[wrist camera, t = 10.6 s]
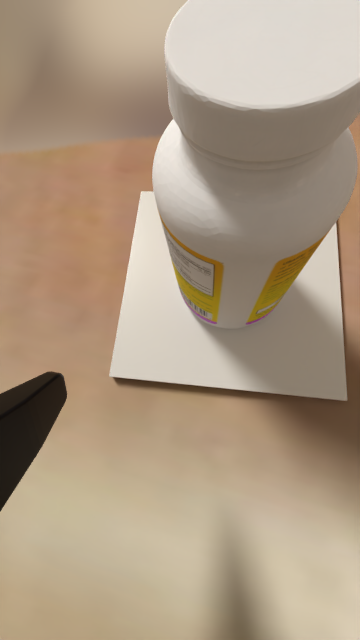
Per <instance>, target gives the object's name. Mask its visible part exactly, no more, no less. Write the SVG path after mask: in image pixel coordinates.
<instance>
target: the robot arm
mask: <svg viewBox="0 0 360 640" xmlns="http://www.w3.org/2000/svg"><path fill="white" fill-rule="evenodd" d="M66 398H67V391H66V386H65V381H64V376H63V375H62V374H61V373H56V372H46V373H44V374H42V375H40V376H38V377H36V378H33V379H31V380H29V381H27V382H25V383H23V384H21V385H18V386H16V387H14V388H12V389H10V390H8V391H6V392H3V393H1V394H0V511H1V510H2V508H3V507H4V505H5V503H6V502H7V500H8V499H9V497H10V496H11V494H12V493H13V491H14V489H15V488H16V486H17V485H18V483H19V482H20V480H21V479H22V477H23V475H24V474H25V472H26V471H27V469H28V468H29V466H30V465H31V463H32V462H33V460H34V458H35V457H36V455H37V454H38V452H39V450H40V449H41V447H42V445H43V444H44V442H45V440H46V438H47V436H48V434H49V432H50V430H51V428H52V426H53V424H54V423H55V421H56V419H57V417H58V415H59V413H60V411H61V409H62V407H63V405H64V403H65V401H66Z"/></svg>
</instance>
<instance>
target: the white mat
mask: <svg viewBox="0 0 360 640" xmlns="http://www.w3.org/2000/svg"><path fill="white" fill-rule="evenodd" d="M109 376H110V377H116V378H126V379H136V380H146V381H155V382H165V383H175V384H185V385H194V386H204V387H214V388H224V389H233V390H243V391H253V392H262V393H272V394H282V395H292V396H301V397H311V398H321V399H331V400H340V401H347V386H346V370H345V354H344V339H343V323H342V307H341V291H340V275H339V260H338V244H337V228H336V223H335V224H334V226H333V227H332V228H331V230H330V231H329V232H328V234H327V235H326V237H325V238H324V239H323V241H322V242H321V244H320V245H319V246H318V248H317V249H316V251H315V252H314V253H313V255H312V256H311V258H310V259H309V261H308V262H307V264H306V265H305V266H304V268H303V269H302V271H301V272H300V273H299V275H298V276H297V278H296V279H295V281H294V282H293V284H292V285H291V286H290V288H289V289H288V291H287V292H286V293H285V295H284V296H283V298H282V299H281V301H280V302H279V303H278V305H277V306H276V307H275V309H274V310H273V311H272V312H271V313H270V314H269V315H268V316H267V317H265V318H264V319H263V320H261V321H259V322H257V323H256V324H253V325H251V326H247V327H243V328H237V329H226V328H220V327H216V326H213V325H210V324H208V323H206V322H204V321H202V320H201V319H199V318H198V317H197V316H196V315H195V314H194V313H192V311H191V310H190V309H189V308H188V307H187V305H186V303H185V302H184V300H183V297H182V295H181V292H180V290H179V286H178V283H177V279H176V275H175V272H174V268H173V264H172V260H171V256H170V253H169V249H168V245H167V241H166V238H165V234H164V230H163V227H162V223H161V219H160V216H159V212H158V209H157V204H156V200H155V195H154V192H143V191H141V196H140V202H139V208H138V213H137V219H136V225H135V231H134V236H133V242H132V248H131V254H130V260H129V265H128V271H127V277H126V283H125V288H124V294H123V300H122V306H121V312H120V317H119V323H118V329H117V335H116V340H115V346H114V352H113V358H112V363H111V369H110V375H109Z"/></svg>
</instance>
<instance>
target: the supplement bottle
mask: <svg viewBox="0 0 360 640" xmlns="http://www.w3.org/2000/svg"><path fill="white" fill-rule="evenodd" d="M164 55H165V66H166V74H167V82H168V101H169V108H170V111H171V114H172V116H173V120H172V121H171V122H170V124H169V125H168V127H167V128H166V130H165V131H164V133H163V135H162V137H161V139H160V141H159V144H158V147H157V150H156V153H155V157H154V163H153V173H152V181H153V191H154V195H155V200H156V204H157V209H158V212H159V216H160V219H161V223H162V227H163V230H164V234H165V238H166V241H167V245H168V249H169V253H170V256H171V260H172V264H173V268H174V272H175V275H176V279H177V283H178V286H179V290H180V292H181V295H182V297H183V300H184V302H185V303H186V305H187V307H188V308H189V309H190V310H191V311H192V313H194V314H195V315H196V316H197V317H198V318H199V319H201V320H202V321H204V322H206V323H208V324H210V325H213V326H216V327H220V328H226V329H237V328H243V327H247V326H251V325H253V324H256V323H257V322H259V321H261V320H263V319H264V318H265V317H267V316H268V315H269V314H270V313H271V312H272V311H273V310H274V309H275V307H276V306H277V305H278V303H279V302H280V301H281V299H282V298H283V296H284V295H285V293H286V292H287V291H288V289H289V288H290V286H291V285H292V284H293V282H294V281H295V279H296V278H297V276H298V275H299V273H300V272H301V271H302V269H303V268H304V266H305V265H306V264H307V262H308V261H309V259H310V258H311V256H312V255H313V253H314V252H315V251H316V249H317V248H318V246H319V245H320V244H321V242H322V241H323V239H324V238H325V237H326V235H327V234H328V232H329V231H330V230H331V228H332V227H333V226H334V224H335V223H336V221H337V220H338V218H339V217H340V215H341V214H342V212H343V211H344V209H345V207H346V205H347V204H348V202H349V200H350V197H351V195H352V192H353V189H354V186H355V182H356V177H357V153H356V148H355V144H354V140H353V137H352V134H351V132H350V130H349V128H348V127H349V126H350V125H351V124H352V123H353V121H354V120H355V118H356V117H357V115H358V114H359V112H360V0H188V1H187V2H186V3H185V4H184V5H183V6H182V7H181V8H180V10H179V11H178V12H177V14H176V15H175V16H174V18H173V19H172V21H171V23H170V26H169V28H168V31H167V34H166V38H165V46H164Z"/></svg>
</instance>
